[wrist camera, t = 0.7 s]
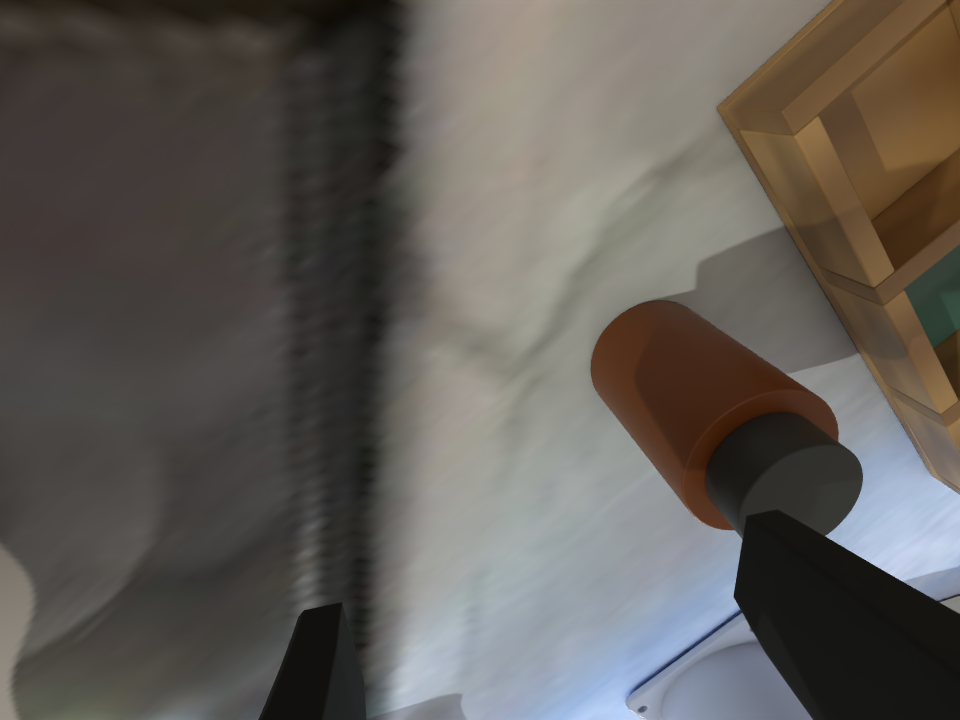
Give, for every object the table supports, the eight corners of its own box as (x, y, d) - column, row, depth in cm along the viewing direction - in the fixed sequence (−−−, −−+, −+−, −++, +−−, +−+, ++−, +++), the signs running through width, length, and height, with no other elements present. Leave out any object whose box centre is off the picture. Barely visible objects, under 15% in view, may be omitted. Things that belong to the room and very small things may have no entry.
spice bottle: (725, 355, 21) (911, 491, 14) (633, 431, 22) (765, 598, 15) (665, 274, 19) (844, 385, 12) (566, 361, 20) (681, 513, 13)
